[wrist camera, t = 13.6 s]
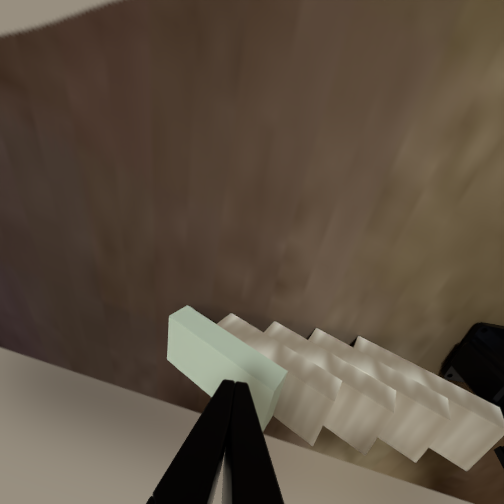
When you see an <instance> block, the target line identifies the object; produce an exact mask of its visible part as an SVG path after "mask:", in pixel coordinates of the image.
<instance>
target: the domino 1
mask: <svg viewBox="0 0 504 504" xmlns="http://www.w3.org/2000/svg"><path fill="white" fill-rule="evenodd" d="M167 360H168V361H169V362H171V363H172V364H173V365H174V366H175V367H177V368H178V369H179V370H180V371H181V372H182V373H184V374H185V375H186V376H187V377H188V378H190V379H191V380H192V381H193V382H194V383H195V384H197V385H198V386H199V387H200V388H201V389H203V390H204V391H205V392H206V393H207V394H208V395H210V396H211V397H212V396H213V395H214V393H215V391H216V390H217V388H218V387H219V385H220V383H221V382H222V380H224V379H228V380H233V381H235V382H236V381H241V382H246V383H248V385H249V388H250V392H251V395H252V398H253V402H254V405H255V408H256V412H257V415H258V418H259V421H260V425H261V428H262V431H264V429H265V428H266V426H267V424H268V423H269V421H270V419H271V418H272V416H273V414H274V411H275V408H276V405H277V402H278V399H279V396H280V393H281V390H282V387H283V384H284V381H285V378H286V375H287V372H288V371H287V370H285V369H284V368H282V367H281V366H279V365H278V364H276V363H275V362H273V361H272V360H270V359H268V358H267V357H265V356H264V355H262V354H261V353H259V352H258V351H256V350H255V349H253V348H252V347H250V346H249V345H247V344H246V343H244V342H243V341H241V340H240V339H238V338H237V337H235V336H234V335H232V334H230V333H229V332H227V331H226V330H224V329H223V328H221V327H220V326H218V325H217V324H215V323H214V322H212V321H211V320H209V319H208V318H206V317H205V316H203V315H202V314H200V313H199V312H197V311H196V310H194V309H193V308H191V307H189V306H188V305H187V306H186V307H184V308H182V309H180V310H179V311H177V312H175V313H173V314H172V315H170V316H169V329H168V352H167Z"/></svg>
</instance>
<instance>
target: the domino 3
mask: <svg viewBox="0 0 504 504" xmlns="http://www.w3.org/2000/svg"><path fill="white" fill-rule="evenodd" d="M264 333H265V334H267V335H268V336H270V337H272V338H273V339H275V340H276V341H278V342H280V343H281V344H283V345H285V346H286V347H288V348H290V349H291V350H293V351H294V352H296V353H298V354H299V355H301V356H303V357H304V358H306V359H308V360H309V361H311V362H313V363H314V364H316V365H317V366H319V367H321V368H322V369H324V370H326V371H327V372H329V373H331V374H332V375H334V376H335V377H337V378H339V379H340V380H342V383H341V386H340V388H339V391H338V394H337V397H336V399H335V402H334V404H333V406H332V408H331V410H330V412H329V414H328V416H327V418H326V420H325V422H324V424H323V426H325V427H326V428H327V429H329V430H330V431H332V432H333V433H334V434H336V435H337V436H339V437H340V438H341V439H343V440H344V441H345V442H347V443H348V444H350V445H351V446H352V447H354V448H355V449H357V450H358V451H359V452H361V453H362V454H363V455H366V454H367V452H368V451H369V449H370V448H371V446H372V445H373V443H374V442H375V440H376V439H377V437H378V436H379V435H380V433H381V432H382V430H383V429H384V427H385V426H386V424H387V423H388V421H389V420H390V418H391V417H392V415H393V414H394V408H395V398H396V390H394V389H392V388H391V387H389V386H387V385H385V384H384V383H382V382H380V381H378V380H377V379H375V378H373V377H371V376H370V375H368V374H366V373H364V372H363V371H361V370H359V369H357V368H356V367H354V366H352V365H350V364H349V363H347V362H345V361H343V360H342V359H340V358H338V357H337V356H335V355H333V354H331V353H330V352H328V351H326V350H324V349H323V348H321V347H319V346H317V345H316V344H314V343H312V342H310V341H309V340H307V339H305V338H303V337H302V336H300V335H298V334H296V333H295V332H293V331H291V330H289V329H288V328H286V327H284V326H282V325H281V324H279V323H277V322H276V321H274V322H273V323H272V324H271V325H270V326H269V327H268V328H267V330H266V331H265V332H264Z"/></svg>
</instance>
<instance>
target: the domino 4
mask: <svg viewBox="0 0 504 504" xmlns="http://www.w3.org/2000/svg"><path fill="white" fill-rule="evenodd" d="M308 340H309V341H310V342H312V343H314V344H316V345H317V346H319V347H321V348H323V349H324V350H326V351H328V352H330V353H331V354H333V355H335V356H337V357H338V358H340V359H342V360H343V361H345V362H347V363H349V364H350V365H352V366H354V367H356V368H357V369H359V370H361V371H363V372H364V373H366V374H368V375H370V376H371V377H373V378H375V379H377V380H378V381H380V382H382V383H384V384H385V385H387V386H389V387H391V388H392V389H394V390H396V398H395V408H394V414H393V415H392V417H391V418H390V420H389V421H388V423H387V424H386V426H385V427H384V429H383V430H382V432H381V433H380V435H379V436H378V438H380V439H381V440H383V441H384V442H386V443H387V444H388V445H390V446H391V447H393V448H394V449H396V450H397V451H399V452H400V453H402V454H403V455H405V456H406V457H408V458H409V459H411V460H412V461H414V462H415V463H416V462H417V461H418V460H419V458H420V457H421V456H422V455H423V454H424V452H425V451H426V450H427V449H428V448H429V446H430V445H431V444H432V443H433V442H434V440H435V439H436V438H437V437H438V436H439V434H440V433H441V432H442V431H443V430H444V428H445V427H446V426H447V425H448V424H449V423H450V421H451V420H450V412H449V404H448V398H446V397H444V396H442V395H441V394H439V393H437V392H435V391H433V390H431V389H429V388H428V387H426V386H424V385H422V384H420V383H418V382H416V381H415V380H413V379H411V378H409V377H407V376H405V375H403V374H401V373H400V372H398V371H396V370H394V369H392V368H390V367H388V366H387V365H385V364H383V363H381V362H379V361H377V360H375V359H374V358H372V357H370V356H368V355H366V354H364V353H362V352H360V351H359V350H357V349H355V348H353V347H351V346H349V345H347V344H346V343H344V342H342V341H340V340H338V339H336V338H334V337H333V336H331V335H329V334H327V333H325V332H323V331H321V330H319V329H318V328H316V329H315V330H314V332H313V333H312V335H311V336H310V338H309V339H308Z"/></svg>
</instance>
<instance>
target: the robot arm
mask: <svg viewBox="0 0 504 504" xmlns="http://www.w3.org/2000/svg"><path fill="white" fill-rule="evenodd" d="M441 373H442V375H443V376H444V378H445V379H448V380H454V381H460V382H465V383H466V384H467V385H468V386H469V388H470V389H471V390H472V391H473V392H474V394H475V395H476V396H478V397H480V398H482V399H484V400H486V401H488V402H490V403H492V404H494V405H496V406H498V407H500V410H501V412H502V415H503V418H504V326H500V325H494V324H489V323H482V322H481V323H478V324H476V325H475V326H474V328H473V329H472V330H471V332H470V333H469V335H468V336H467V337H466V339H465V340H464V341H463V343H462V344H461V346H460V347H459V348H458V350H457V351H456V352H455V354H454V355H453V357H452V358H451V359H450V361H449V362H448V363H447V365H446V366H445V368H444V369H443V370H442V372H441ZM494 451H495V453H496V455H497V457H498V459H499V461H500V462H501V465H502V467H503V468H504V446H503V447H502V446H499V447H497V448H496V449H494ZM224 452H225V454H224ZM223 457H224V467H223V488H222V504H284V501H283V498H282V494H281V491H280V488H279V485H278V481H277V478H276V475H275V472H274V468H273V465H272V461H271V458H270V455H269V451H268V448H267V445H266V442H265V438H264V435H263V431H262V428H261V425H260V421H259V418H258V415H257V412H256V408H255V405H254V402H253V398H252V395H251V392H250V388H249V385H248V383H246V382H241V381H236V382H235V381H233V380H228V379H224V380H222V382H221V383H220V385H219V387H218V388H217V390H216V391H215V393H214V395H213V396H212V398H211V400H210V401H209V403H208V404H207V406H206V408H205V409H204V411H203V412H202V414H201V416H200V417H199V419H198V421H197V422H196V424H195V425H194V427H193V429H192V430H191V432H190V434H189V435H188V437H187V438H186V440H185V442H184V443H183V445H182V446H181V448H180V450H179V451H178V453H177V455H176V456H175V458H174V459H173V461H172V463H171V464H170V466H169V468H168V469H167V471H166V472H165V474H164V476H163V477H162V479H161V480H160V482H159V484H158V485H157V487H156V488H155V490H154V492H153V496H151V497H150V498H149V499H148V501H147V503H146V504H212V502H213V499H214V495H215V490H216V487H217V482H218V478H219V474H220V470H221V466H222V462H223Z"/></svg>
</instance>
